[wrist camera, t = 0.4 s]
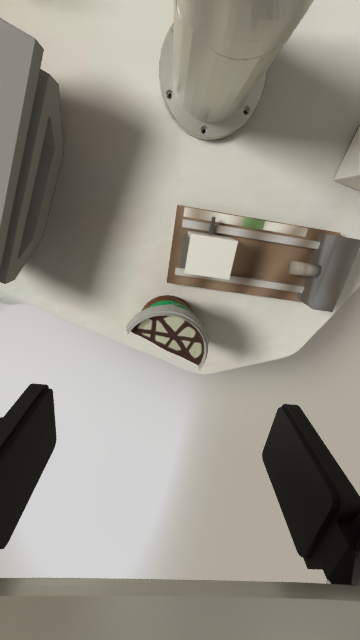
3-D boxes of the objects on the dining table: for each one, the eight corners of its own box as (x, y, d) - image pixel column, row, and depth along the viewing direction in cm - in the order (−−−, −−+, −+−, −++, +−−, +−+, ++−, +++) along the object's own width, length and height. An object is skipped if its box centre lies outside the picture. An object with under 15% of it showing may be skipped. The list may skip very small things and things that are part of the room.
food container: (216, 310, 43) (228, 338, 34) (196, 338, 45) (203, 371, 36) (151, 273, 40) (146, 293, 31) (133, 305, 42) (123, 332, 33)
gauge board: (167, 280, 40) (166, 292, 35) (177, 205, 36) (178, 204, 30) (308, 300, 43) (331, 315, 37) (334, 232, 38) (364, 236, 32)
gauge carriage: (178, 264, 38) (180, 272, 33) (186, 212, 35) (189, 212, 30) (222, 271, 38) (228, 279, 34) (233, 220, 36) (242, 221, 31)
